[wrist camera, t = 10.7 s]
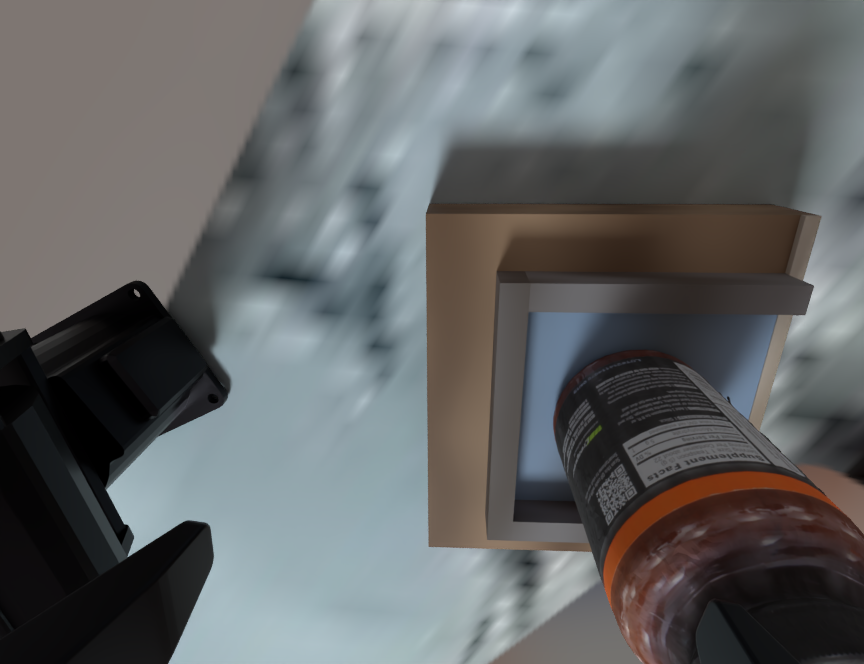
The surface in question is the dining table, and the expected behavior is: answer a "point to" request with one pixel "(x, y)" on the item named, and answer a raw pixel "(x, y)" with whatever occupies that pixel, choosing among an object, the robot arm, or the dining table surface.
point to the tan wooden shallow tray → (584, 337)
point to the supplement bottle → (702, 515)
